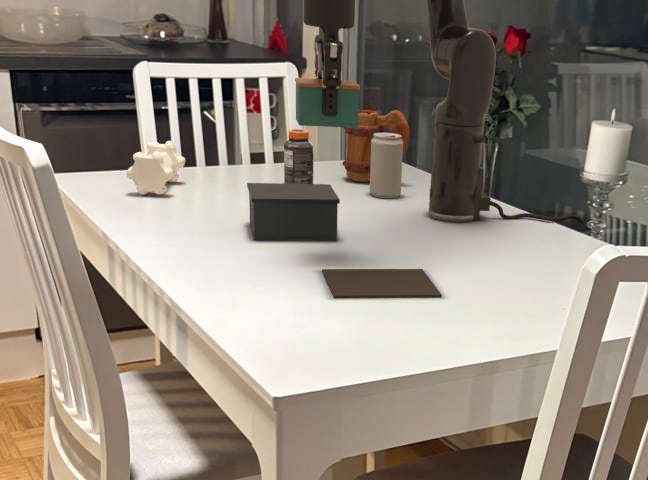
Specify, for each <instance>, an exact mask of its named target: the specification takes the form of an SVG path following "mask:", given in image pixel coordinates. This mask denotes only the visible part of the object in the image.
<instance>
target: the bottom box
mask: <svg viewBox="0 0 648 480" xmlns="http://www.w3.org/2000/svg"><path fill="white" fill-rule="evenodd" d="M246 187H247V191H248V196H249V197H248V200H249V201H248V203H249V206H248V207H249V224H250V229H251V232H252V237H253V240H254V241H337V240H338V208H339V207H338V206H339V205H338V204H340V203H341V202H340V201H341V199H340V198H339V196H338V194H337V192H335V190H334V189H333V187H332V185H331V184H329V183H328V184H325V183H313V184H284V183H280V182H279V183H275V182H274V183H273V182H272V183H270V182H247V183H246Z"/></svg>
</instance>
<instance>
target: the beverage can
mask: <svg viewBox="0 0 648 480" xmlns="http://www.w3.org/2000/svg"><path fill="white" fill-rule="evenodd" d="M373 136H374V137H373V139H372V140H371V167H370V182H369V192H370V193H371V194H372V195H373V196H374V197H376V198H380V199H395V198H398V196H400V195H401V194H402V179H403V178H402V176H403V157H404V155H403V141H402V139H401V137H402V136H401V135H399V134H394V133H393V132H384V133H375V134H373ZM402 156H403V157H402Z"/></svg>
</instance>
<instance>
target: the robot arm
mask: <svg viewBox="0 0 648 480" xmlns="http://www.w3.org/2000/svg"><path fill="white" fill-rule="evenodd" d="M302 3H303V5H302V22H303V23H304V25H306V26H308V27H313V28H314V27H315V28H318V34H315V37H314V40H313V51H314V60H313V61H314V75H315V79H322V83H321V86H322V114H323V115H324V116H333V117H334V116H336V115H337V101H338V90H339V87H340V86H341V80H342V71H343V52H344V42H343V41H341V40H340V36H339V35H340V33H339V32H340V30H341V29H342V30H343V29H344V30H345V29H346V30H348V29H352V28H354V26H355V14H356V9H355V8H356V0H303V1H302ZM465 3H466V2H465V0H426V4H427V5H426V6H427V17H428V32H429V34H428V35H429V49H430V56H431V61H432V64H433V67H434V69H435V70H436V72H437V74H438V75H440V76H441V77H442V78H444V79H446V80H448V81H449V82H448V89H447V95H446V97H445V99H444V100H443V101H441V102H439V103H438V104H437V105H436V107H435V110H434V114H435V115H434V126H433V142H432V143H433V144H432V157H431V158H432V159H431V170H430V171H431V173H430V186H429V187H430V188H429V192H428V193H429V195H428V197H429V201H428V210H427V211H428V212H427V214H428V216H429V217H431V218H433V219H436V220H440V221H444V222H445V221H446V222H454V223H455V222H456V223H457V222H459V223H461V222H471V221H480V216H481V212H490V210H491V207H494V208H495V209H496V210H497V211H498V214H499V216H500V217H501V218H502V219H504V220H518V219H523V218H526V219H527V218H528V219H536V220H541V221H547V222H563V221H566V220H571V219H574V220H576V221H577V222H578V223H581V224H585V221H584V220H583V218H582V217H581V216H579V215H577V214H574V213H570V214H566V215H561V216H548V215H543V214H536V213H530V212H522V213H517V214H513V215H509V214H508V215H507V214H505V213H504V210H503V208H502V206H501V205H500V204H499V203H497V202H495V201H492V200H491V197H490V196H489V195H488V194H486V192H484V191H483V182H484V171H485V169H484V168H483V167H482V158H483V157H482V156H483V147H484V146H483V145H484V144H483V143H484V133H485V124H486V123H485V122H486V116H487V114H488V111H489V110H490V107H491V103H492V102H491V101H492V97H493V90H494V81H495V76H496V75H495V74H496V68H497V67H496V65H497V50H496V46H495V43H494V40H493V38H492V37H491V36H490V34H489V33H487V32H486V31H484V30H482V29H479V28H474V27H470V26H469V22H468V17H467V9H466V4H465Z"/></svg>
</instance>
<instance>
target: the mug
mask: <svg viewBox="0 0 648 480" xmlns="http://www.w3.org/2000/svg"><path fill="white" fill-rule="evenodd" d="M383 127H385V128H386V129H387V130H389V131H390V133H394V134H399V135H401V136H402V137H401V139H402V141H403V156H402V158H403V157H404V156H405V154H406V153H407V150H408V148H409V147H408V146H409V143H410V136H411V133H410V126H409V124H408V121H407V119H406V116H404V114H403V112H402V111H400V110H396V109H395V110H392V111H390V112H389V113H387V114H385V115H380V113H379V112H378V110H377V111H376V110H371V109H363V110H361V109H359V119H358V128H348V127H343V130H344V131H345V133H346V136H347V138H346V158H345V159H344V160H343V161H342V166H343V167H344V169H345V171H346V175H345V176H346V177H347V178H348V179H350V180H351V181H354V182H357V183H358V182H359V183H367V182H369V183H370V167H371V140H372V139H373V137H374V136H373V134H375V133H385V130H384V128H383Z"/></svg>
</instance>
